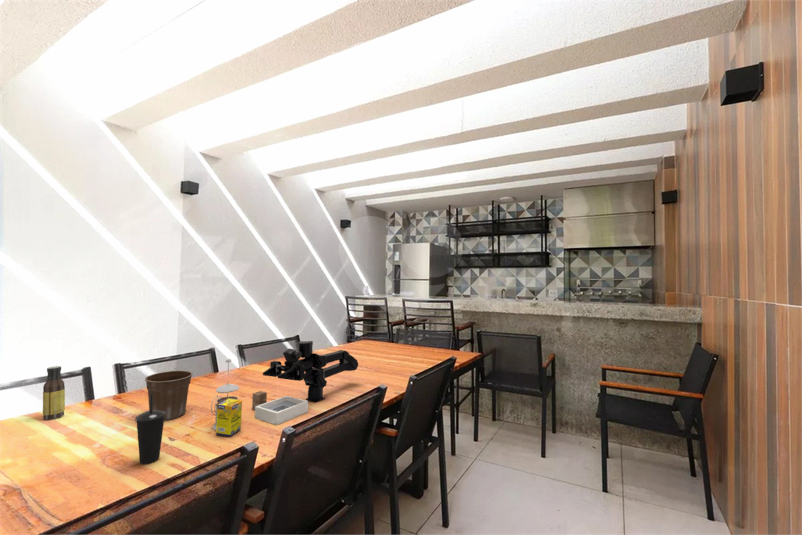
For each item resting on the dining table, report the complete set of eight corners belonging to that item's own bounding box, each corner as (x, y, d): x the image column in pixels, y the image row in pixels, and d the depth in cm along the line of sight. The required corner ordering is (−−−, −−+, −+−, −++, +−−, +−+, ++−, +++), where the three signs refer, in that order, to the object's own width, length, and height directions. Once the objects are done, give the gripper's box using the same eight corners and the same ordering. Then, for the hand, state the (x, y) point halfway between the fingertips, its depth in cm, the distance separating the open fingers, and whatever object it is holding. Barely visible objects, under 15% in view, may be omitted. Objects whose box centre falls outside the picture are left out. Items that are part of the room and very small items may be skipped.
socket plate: (286, 405, 153) (286, 400, 153) (305, 410, 148) (305, 405, 148) (257, 415, 141) (258, 411, 141) (277, 421, 135) (277, 417, 135)
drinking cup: (144, 454, 111) (146, 390, 112) (169, 453, 112) (171, 389, 112) (127, 467, 103) (130, 398, 104) (155, 466, 104) (157, 397, 105)
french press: (246, 422, 137) (248, 357, 138) (222, 434, 126) (224, 363, 127) (227, 418, 140) (228, 355, 141) (201, 430, 129) (203, 361, 130)
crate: (286, 406, 154) (286, 395, 155) (307, 411, 148) (308, 401, 148) (254, 418, 141) (255, 406, 141) (276, 425, 134) (277, 413, 134)
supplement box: (230, 437, 123) (231, 406, 123) (215, 434, 125) (216, 404, 125) (241, 429, 129) (242, 400, 129) (227, 427, 131) (228, 398, 130)
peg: (260, 407, 153) (260, 390, 153) (266, 409, 151) (266, 392, 151) (252, 410, 149) (252, 393, 150) (258, 412, 147) (258, 395, 148)
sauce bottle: (67, 413, 144) (69, 364, 144) (59, 419, 138) (61, 368, 139) (47, 415, 142) (49, 365, 142) (37, 421, 136) (40, 369, 136)
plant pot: (197, 415, 143) (198, 375, 143) (149, 427, 131) (150, 383, 132) (184, 405, 154) (185, 368, 155) (139, 415, 142) (140, 375, 143)
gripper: (285, 346, 161) (255, 353, 147) (314, 349, 151) (285, 357, 138) (285, 370, 160) (255, 380, 147) (315, 375, 151) (286, 386, 137)
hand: (270, 375), depth 142 cm, fingers open, 9 cm apart
